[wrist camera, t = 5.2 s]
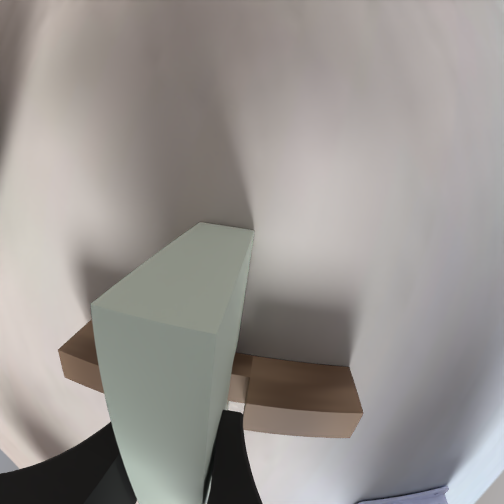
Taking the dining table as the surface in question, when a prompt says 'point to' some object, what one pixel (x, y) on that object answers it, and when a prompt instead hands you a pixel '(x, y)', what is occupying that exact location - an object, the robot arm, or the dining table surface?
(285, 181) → the dining table surface
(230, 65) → the dining table surface
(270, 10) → the dining table surface
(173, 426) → the sage slot plate
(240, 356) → the walnut slot board
